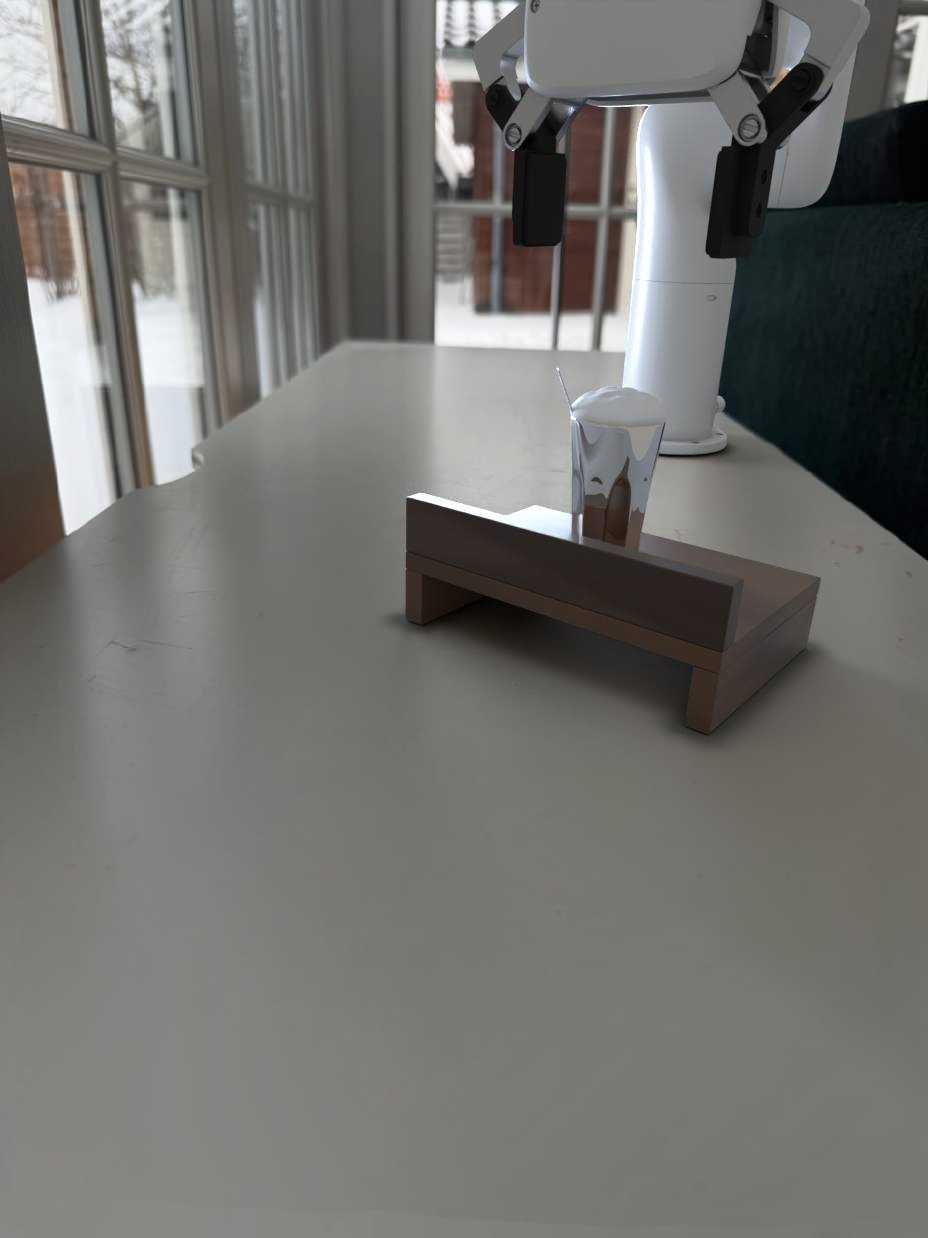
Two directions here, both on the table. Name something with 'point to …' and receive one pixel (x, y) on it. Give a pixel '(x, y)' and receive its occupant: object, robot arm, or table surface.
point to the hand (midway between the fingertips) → (626, 251)
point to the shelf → (616, 593)
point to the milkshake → (613, 462)
